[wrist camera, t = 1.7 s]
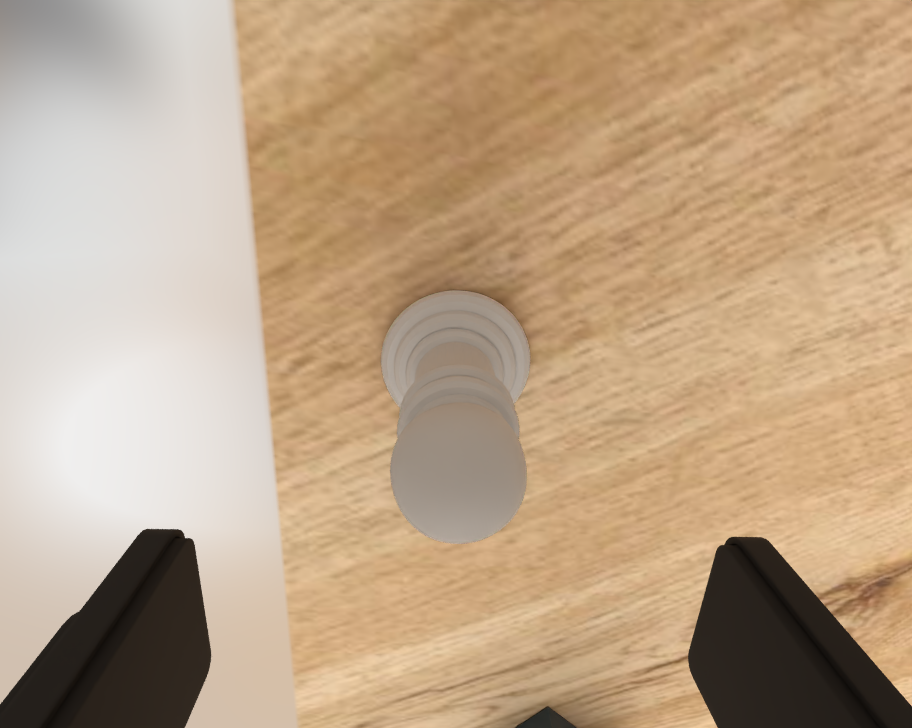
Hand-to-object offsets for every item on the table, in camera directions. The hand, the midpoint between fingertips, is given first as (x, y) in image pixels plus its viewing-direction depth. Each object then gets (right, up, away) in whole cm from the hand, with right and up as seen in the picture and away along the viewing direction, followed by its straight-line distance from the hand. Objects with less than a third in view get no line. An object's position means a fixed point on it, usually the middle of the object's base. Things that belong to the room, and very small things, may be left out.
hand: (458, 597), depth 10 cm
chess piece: (0, +4, +10) cm, 11 cm away
